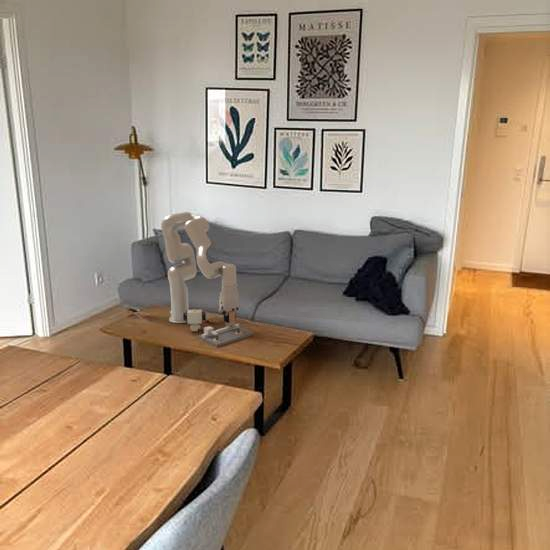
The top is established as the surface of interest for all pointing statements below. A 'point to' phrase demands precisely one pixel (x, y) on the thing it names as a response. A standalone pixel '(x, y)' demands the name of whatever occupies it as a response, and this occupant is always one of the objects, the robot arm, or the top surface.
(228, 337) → the plate
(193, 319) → the pneumatic valve
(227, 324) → the sliding leg
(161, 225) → the robot arm
